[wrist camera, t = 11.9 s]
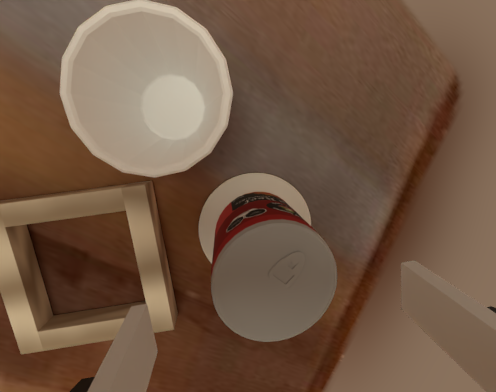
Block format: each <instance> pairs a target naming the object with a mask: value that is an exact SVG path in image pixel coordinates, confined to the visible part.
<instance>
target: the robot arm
mask: <svg viewBox="0 0 496 392" xmlns="http://www.w3.org/2000/svg"><path fill="white" fill-rule="evenodd" d="M401 309H402V310H403V311H404V312H405V313H406V314H407V315H408V316H409V317H410V318H411V319H412V320H413V321H414V322H415V323H416V324H417V325H418V326H419V327H420V328H421V329H422V330H423V331H424V332H425V333H426V334H427V335H428V336H429V337H431V339H432V340H434V342H435V343H437V344H438V345H439V346H440V347H441V348H442V349H443V350H444V351H445V352H446V353H447V354H448V355H449V356H450V357H451V358H452V359H453V360H454V361H455V362H456V363H457V364H458V365H459V366H460V367H461V368H462V369H463V370H464V371H465V372H467V374H468V375H469V376H470V377H471V378H473V379H474V380H475V381H476V382H477V383H478V384H479V385H480V386H481V387H482V388H483V389H484V390H485V391H486V392H496V308H494V307H485V306H484V305H482V304H481V303H479V302H478V301H476V300H475V299H473V298H472V297H470V296H468V295H467V294H465V293H464V292H462V291H461V290H459V289H458V288H456V287H454V286H453V285H452V284H450V283H449V282H447V281H446V280H444V279H443V278H441V277H439V276H438V275H436V274H435V273H433V272H432V271H430V270H429V269H427V268H426V267H424V266H422V265H421V264H419V263H418V262H416V261H408V262H403V263H401ZM157 352H158V350H157V346H156V341H155V337H154V332H153V328H152V323H151V319H150V315H149V310H148V306H147V304H142V305H136V306H131V308H130V310H129V312H128V314H127V316H126V318H125V320H124V321H123V323H122V325H121V327H120V329H119V331H118V333H117V335H116V337H115V339H114V341H113V343H112V345H111V347H110V349H109V351H108V353H107V354H106V356H105V358H104V360H103V362H102V364H101V366H100V368H99V370H98V372H97V374H96V376H95V377H91V378H85V379H81V381H80V382H79V383H78V384H77V385H76V386H75V387H74V388H73V389H72V390H71V391H70V392H146V390H147V387H148V383H149V380H150V376H151V373H152V369H153V366H154V362H155V359H156V355H157Z"/></svg>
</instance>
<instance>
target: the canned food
mask: <svg viewBox="0 0 496 392" xmlns="http://www.w3.org/2000/svg"><path fill="white" fill-rule="evenodd" d="M336 285H337V268H336V262H335V260H334V257H333V254H332V252H331V250H330V249H329V247H328V245H327V244H326V242H325V241H324V239H323V238H322V237H321V236H320V235H319V234H318V233H317V232H316V231H315V230H314V229H313V228H312V227H311V226H310V225H309V224H308V223H307V222H306V221H305V220H304V219H303V218H302V217H301V216H300V215H299V214H298V213H297V212H296V211H295V210H294V209H293V208H291V207H290V206H289V205H288V204H287V203H286V202H285V201H284V200H283V199H281V198H280V197H278V196H276V195H274V194H271V193H267V192H251V193H247V194H244V195H242V196H240V197H237V198H236V199H235V200H233V201H232V202H230V203H229V204H228V205H227V206H226V207H225V208H224V210H223V211H222V213H221V214H220V216H219V219H218V221H217V224H216V229H215V237H214V248H213V258H212V269H211V292H212V298H213V303H214V306H215V309H216V311H217V313H218V315H219V317H220V318H221V319H222V321H223V322H224V323H225V325H227V326H228V327H229V328H230V329H231V330H232V331H234V332H235V333H237V334H239V335H241V336H243V337H245V338H248V339H251V340H255V341H264V342H271V341H280V340H284V339H288V338H291V337H294V336H296V335H298V334H300V333H302V332H304V331H305V330H307V329H308V328H310V327H311V326H312V325H313V324H315V323H316V322H317V321H318V320H319V319H320V318H321V317H322V315H323V314H324V313H325V311H326V310H327V309H328V307H329V305H330V303H331V301H332V299H333V296H334V293H335V289H336Z"/></svg>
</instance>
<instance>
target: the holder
mask: <svg viewBox="0 0 496 392" xmlns="http://www.w3.org/2000/svg"><path fill="white" fill-rule="evenodd" d="M120 211H126V213H127V218H128V223H129V227H130V232H131V236H132V241H133V246H134V250H135V255H136V259H137V264H138V268H139V273H140V278H141V282H142V287H143V291H144V296H145V301H142V302H136V303H130V304H123V305H117V306H110V307H104V308H98V309H91V310H85V311H78V312H72V313H66V314H59V315H53V313H52V309H51V306H50V302H49V299H48V296H47V292H46V289H45V285H44V282H43V279H42V275H41V272H40V268H39V265H38V261H37V258H36V255H35V251H34V248H33V244H32V241H31V238H30V234H29V231H28V227H27V224H33V223H41V222H48V221H55V220H62V219H69V218H77V217H84V216H91V215H98V214H105V213H113V212H120ZM0 292H1V295H2V298H3V301H4V304H5V307H6V310H7V313H8V316H9V319H10V322H11V325H12V328H13V331H14V335H15V338H16V341H17V344H18V347H19V350H20V353H21V354H27V353H33V352H39V351H46V350H52V349H58V348H64V347H70V346H76V345H82V344H89V343H95V342H101V341H107V340H113V339H115V337H116V335H117V333H118V331H119V329H120V327H121V325H122V323H123V321H124V320H125V318H126V316H127V314H128V312H129V310H130V308H131V306H136V305H142V304H147V306H148V310H149V315H150V319H151V323H152V328H153V332H154V333H156V332H162V331H169V330H174V327H175V324H176V320H177V316H178V311H177V306H176V301H175V296H174V291H173V286H172V281H171V276H170V270H169V265H168V260H167V255H166V250H165V245H164V240H163V234H162V229H161V224H160V219H159V214H158V209H157V204H156V199H155V193H154V188H153V183H152V181H144V182H137V183H129V184H122V185H114V186H107V187H99V188H92V189H84V190H77V191H69V192H62V193H54V194H47V195H39V196H32V197H24V198H17V199H9V200H2V201H0Z"/></svg>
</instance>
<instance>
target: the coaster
mask: <svg viewBox="0 0 496 392" xmlns="http://www.w3.org/2000/svg"><path fill="white" fill-rule="evenodd" d="M251 192H267V193H271V194H274V195H276V196H278V197H280V198H281V199H283V200H284V201H285V202H286V203H287V204H288V205H289V206H290V207H291V208H293V209H294V210H295V211H296V212H297V213H298V214H299V215H300V216H301V217H302V218H303V219H304V220H305V221H306V222H307V223H308V224H309V225H310V226H311V217H310V213H309V209H308V207H307V204H306V202H305V200H304V199H303V197H302V196H301V194H300V193H299V192H298V191H297V190H296V189H295V188H294V187H293V186H292V185H291V184H289V183H288V182H286V181H285V180H283V179H281V178H279V177H277V176H274V175H271V174H267V173H258V172H254V173H245V174H240V175H238V176H235V177H232V178H230V179H228V180H226V181H225V182H223V183H222V184H220V185H219V186H218V187H217V188H216V189H215V190H214V191H213V192H212V193H211V194H210V196H209V197H208V199H207V200H206V202H205V204H204V206H203V209H202V212H201V215H200V219H199V230H198V231H199V239H200V243H201V246H202V249H203V252H204V253H205V255H206V257H207V258H208V260H209V261H210V262H211V264H212V258H213V248H214V237H215V229H216V224H217V221H218V219H219V216H220V214H221V213H222V211H223V210H224V208H225V207H226V206H227V205H228V204H229V203H230V202H232V201H233V200H235V199H236V198H237V197H240V196H242V195H244V194H247V193H251Z"/></svg>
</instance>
